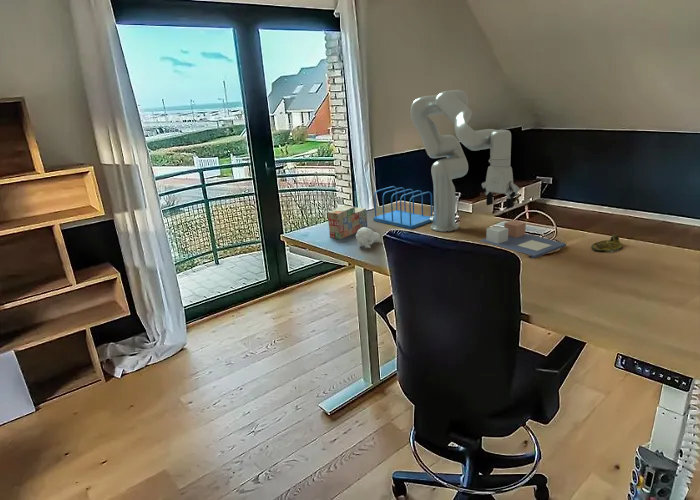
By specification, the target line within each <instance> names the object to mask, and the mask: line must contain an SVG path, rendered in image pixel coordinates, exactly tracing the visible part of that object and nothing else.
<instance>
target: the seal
mask: <svg viewBox="0 0 700 500" xmlns="http://www.w3.org/2000/svg"><path fill="white" fill-rule="evenodd" d="M623 247H624V246H623V243H622V242H621V241H620V238H619V234H616V233H615V234H613V235H611V237H610V239H608V240H601V241H597V242H594V243H593V244H592V245H591V250H592V251H593V252H596V253H597V252H598V253H615V252H618V251H620V250H622V249H623Z"/></svg>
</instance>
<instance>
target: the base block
mask: <svg viewBox="0 0 700 500" xmlns="http://www.w3.org/2000/svg"><path fill="white" fill-rule="evenodd" d="M485 238H486V240H487V241H490V242H494V243H497V244H499V243H502V242H505V241H507V240H508V228H504V226H501V225H500V226H499V225H495V226H492V227H487V228H486V236H485Z"/></svg>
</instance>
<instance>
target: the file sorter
mask: <svg viewBox="0 0 700 500" xmlns="http://www.w3.org/2000/svg"><path fill="white" fill-rule="evenodd" d="M391 188H394V189H391ZM388 189H391V190H388ZM400 189H401V190H400ZM384 190H387V191H384ZM398 190H400V191H398ZM382 191H384V192H383V195H382V214H380V215H377V203H376V202H377V201H376V200H377V199H376V194H377V193H378V192H382ZM394 191H395V193H394ZM407 191H411V192H408V193H406V192H407ZM390 192H393V194H392V195H391V197H390V209H391V211H390V212H385V199H384V198H385V195H386V194H387V193H390ZM418 192H420V193H418ZM401 193H403V194H402V195H401V196H400V198H399V210H398V194H401ZM415 193H418V194H416V195H415ZM411 194H412V195H411ZM426 194H429V195H430V216H429V215H424V196H423V195H426ZM432 194H433V193H432V192H431V191H425V192H423V191H422V190H421V189H420V190H419V189H418V190H417V189H416V190H415V191H414V190H413V188H407V189H405V188H404V187H402V186H401V187H396V186H395V185H392V186H388V187H385V188H380V189H378V190H376V191H375V192H374V195H373V198H374V199H373V200H374V217H372V218H373V221H374V222H378V223H383V224H387V225H391V226H397V227H400V228H405V229H408V230H413V229H415V228H419V227H421V226H423V225H426V224H428V223H433V221H430V220H429V219H430V218H431V217H432V216H433V195H432ZM394 195H395V210H393V209H394V207H393V198H394ZM408 195H411V197H410V199H409V202H408V203H409V205H408V207H409V212H408V211H406V210H407V208H406V207H407V205H406V202H407V201H406V196H408ZM420 196H421V198H420V199H421V214H418V213H415V198H416V197H420ZM402 199H403V201H404V203H403V204H404V205H403V207H404V208H403V209H404V210H402ZM411 201H412V203H411ZM411 204H412V205H411ZM411 207H412V208H411Z"/></svg>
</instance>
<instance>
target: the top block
mask: <svg viewBox="0 0 700 500" xmlns="http://www.w3.org/2000/svg"><path fill="white" fill-rule="evenodd" d="M526 226H527V224H526V222H524V221H520V220H515V219H514V220H510V221H508V222H504V225H503V227H504V228H508V236H511V237H515V238H516V237H519V236H522V235H525V234H526Z"/></svg>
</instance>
